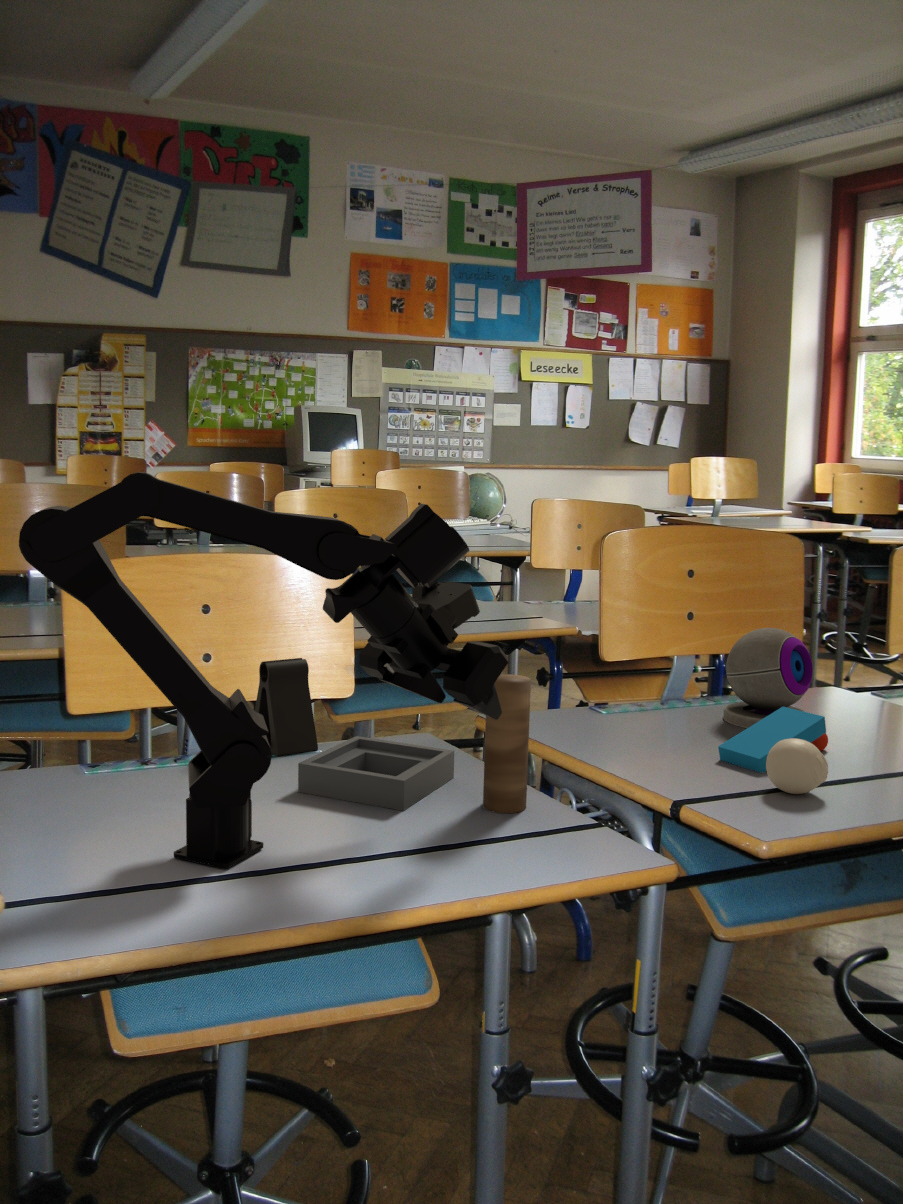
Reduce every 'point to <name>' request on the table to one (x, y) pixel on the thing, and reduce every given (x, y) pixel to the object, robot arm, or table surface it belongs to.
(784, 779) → the beige ball
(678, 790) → the table surface
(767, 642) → the webcam
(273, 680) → the door stopper
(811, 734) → the teal long block
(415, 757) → the box
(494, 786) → the walnut peg
